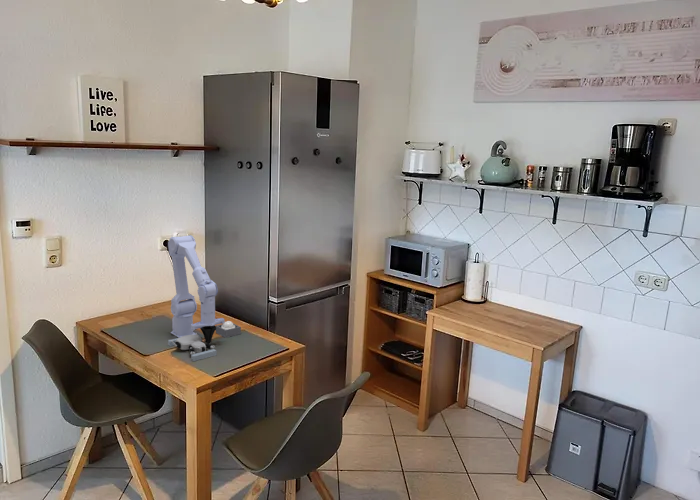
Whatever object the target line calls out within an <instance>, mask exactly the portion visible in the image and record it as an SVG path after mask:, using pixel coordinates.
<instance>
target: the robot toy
mask: <svg viewBox="0 0 700 500" xmlns="http://www.w3.org/2000/svg"><path fill="white" fill-rule="evenodd" d="M195 333H196V335H186V336H182V337H180V338H178V337H177V338H178V339H177V340H176V342H175V343H174V342H173V341H172V339H170V340H171V342H173V344H174V346H175V347H176V348H178V349H180V350H182V351H187V350H189V354H190V356H191V355H193V354H197V353H200V352H204V351H207V349H208V350H212V349H215V348H216V346H215V345H213V344H212V343H205V342H203V337H201V336H200V334H198V333H197V332H195Z"/></svg>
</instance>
